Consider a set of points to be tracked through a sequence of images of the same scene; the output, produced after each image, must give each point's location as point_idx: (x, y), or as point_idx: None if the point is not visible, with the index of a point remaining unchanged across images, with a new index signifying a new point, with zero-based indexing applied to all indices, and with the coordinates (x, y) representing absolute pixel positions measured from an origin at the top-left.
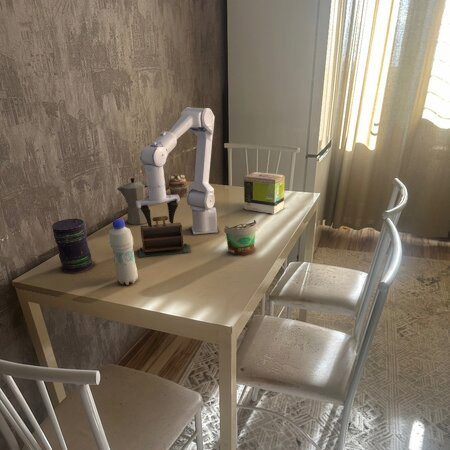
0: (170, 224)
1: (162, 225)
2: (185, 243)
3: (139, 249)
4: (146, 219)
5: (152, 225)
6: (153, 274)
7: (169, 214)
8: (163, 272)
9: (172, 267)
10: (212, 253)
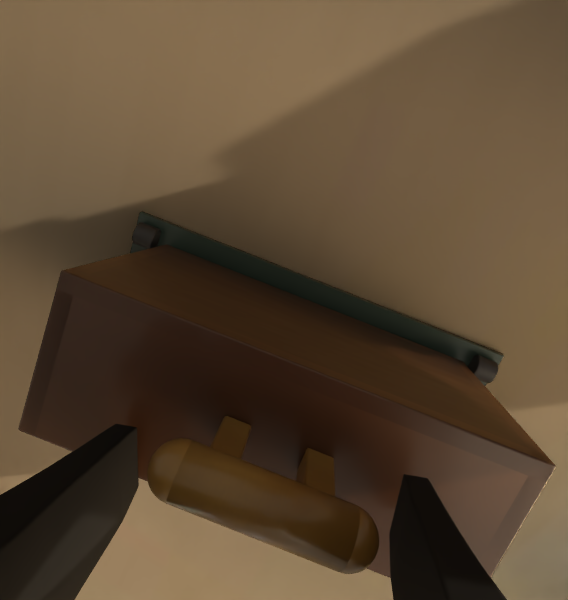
0: (395, 477)
1: (291, 456)
2: (487, 376)
3: (139, 215)
4: (50, 474)
5: (194, 356)
6: (134, 551)
7: (423, 582)
8: (185, 564)
9: (247, 551)
10: (552, 556)
